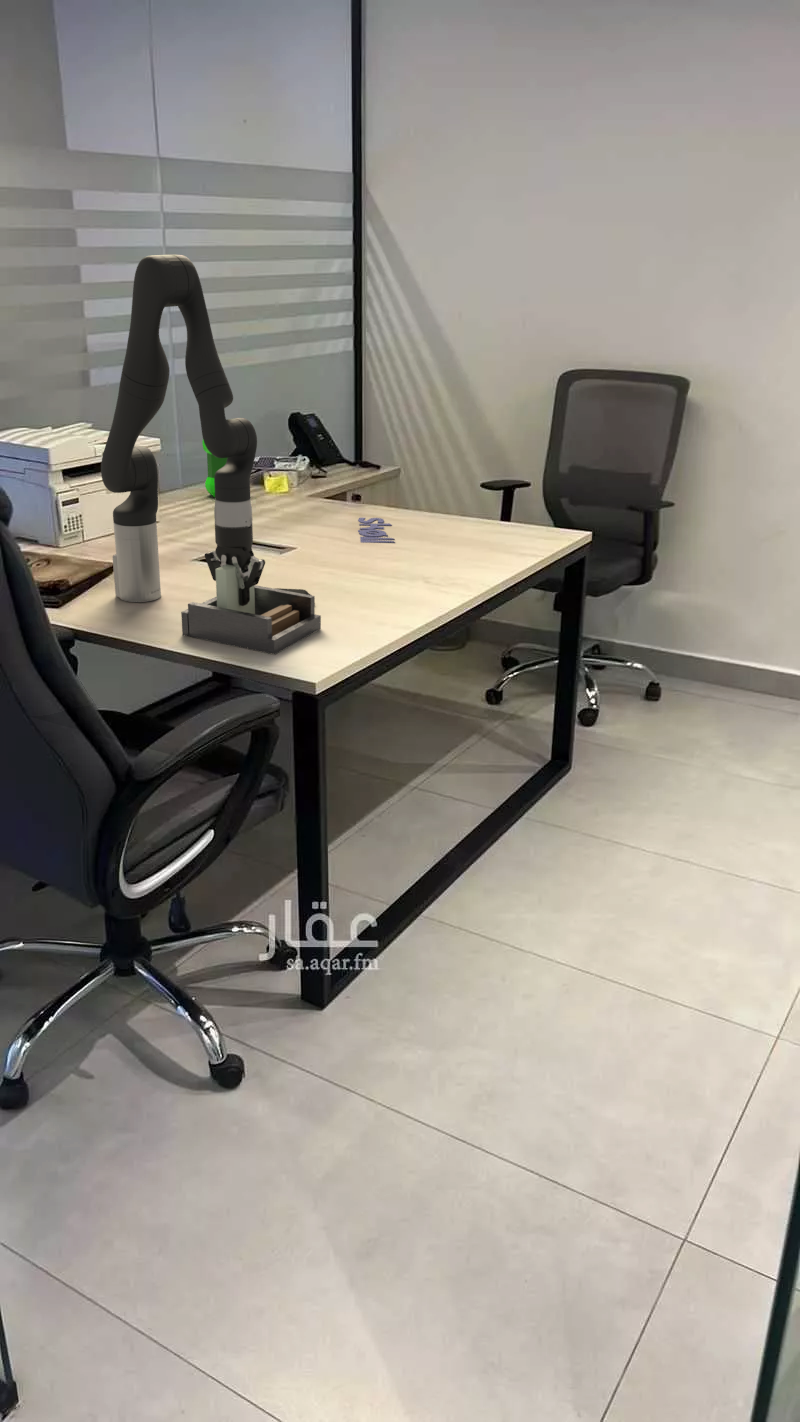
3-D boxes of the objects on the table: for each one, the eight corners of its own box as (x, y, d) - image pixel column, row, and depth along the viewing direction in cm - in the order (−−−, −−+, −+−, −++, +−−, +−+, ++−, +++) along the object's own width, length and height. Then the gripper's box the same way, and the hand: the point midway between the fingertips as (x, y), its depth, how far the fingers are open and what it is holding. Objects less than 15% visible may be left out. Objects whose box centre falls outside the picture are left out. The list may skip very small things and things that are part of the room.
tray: (182, 635, 219) (180, 602, 216) (232, 611, 234) (231, 580, 231) (274, 654, 210) (274, 620, 208) (320, 628, 225) (320, 597, 222)
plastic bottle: (216, 501, 334) (212, 418, 324) (198, 494, 341) (195, 414, 331) (243, 497, 340) (241, 416, 330) (225, 491, 347) (223, 412, 337)
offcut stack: (250, 644, 216) (249, 618, 214) (282, 627, 226) (281, 602, 224) (268, 648, 214) (268, 621, 212) (299, 631, 224) (299, 606, 222)
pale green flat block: (218, 634, 220) (215, 568, 214) (245, 621, 228) (243, 557, 223) (228, 636, 219) (225, 570, 213) (255, 623, 227) (253, 559, 222)
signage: (357, 517, 318) (390, 517, 319) (357, 519, 318) (390, 520, 319) (358, 541, 292) (395, 541, 293) (358, 543, 292) (395, 544, 293)
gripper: (193, 520, 214) (197, 602, 221) (252, 529, 209) (254, 613, 216) (215, 513, 221) (218, 593, 227) (273, 522, 215) (274, 604, 222)
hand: (236, 602), depth 221 cm, fingers open, 3 cm apart
